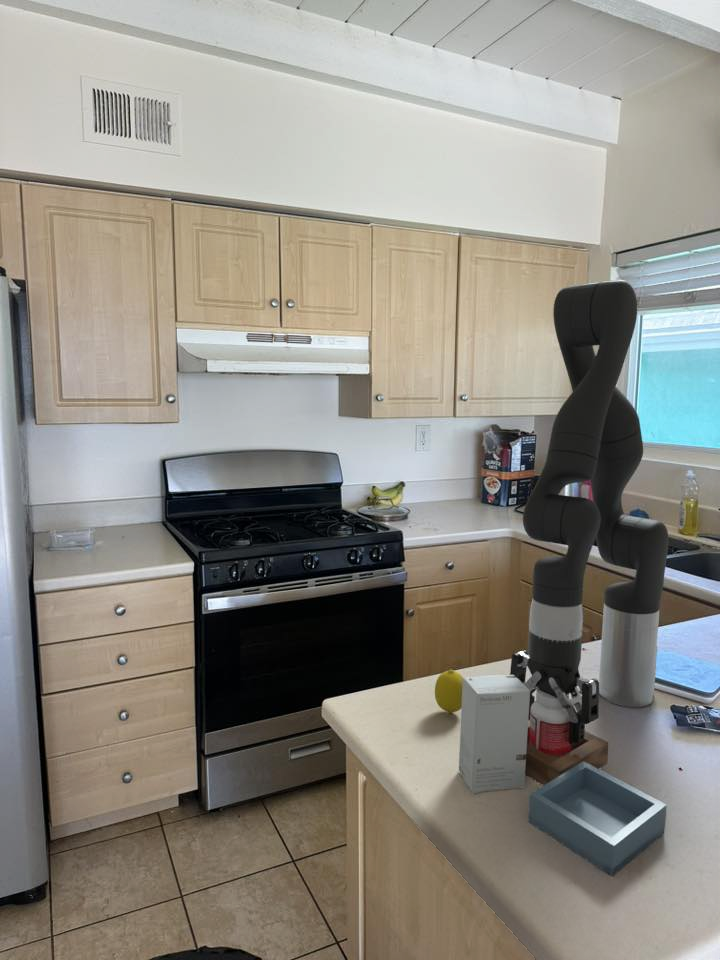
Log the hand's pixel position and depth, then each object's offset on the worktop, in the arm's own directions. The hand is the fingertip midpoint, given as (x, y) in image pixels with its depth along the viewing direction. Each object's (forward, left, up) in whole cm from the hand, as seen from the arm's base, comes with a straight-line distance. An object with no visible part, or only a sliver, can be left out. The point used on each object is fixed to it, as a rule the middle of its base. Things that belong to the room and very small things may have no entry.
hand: (550, 730), depth 98 cm
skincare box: (+11, -2, -5) cm, 12 cm away
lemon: (+2, -19, -5) cm, 20 cm away
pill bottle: (0, 0, -5) cm, 5 cm away
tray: (+8, +13, -5) cm, 16 cm away
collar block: (0, 0, -5) cm, 5 cm away
